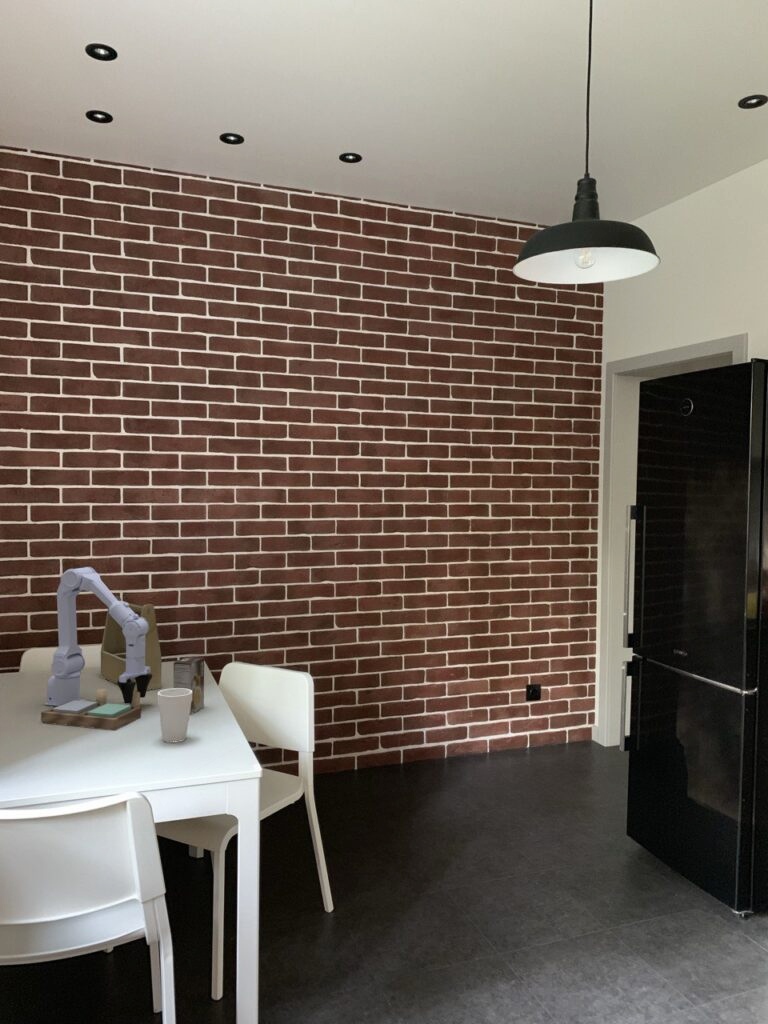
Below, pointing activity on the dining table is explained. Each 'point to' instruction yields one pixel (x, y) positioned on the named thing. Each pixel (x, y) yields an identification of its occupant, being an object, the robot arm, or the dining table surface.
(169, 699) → the foam cup
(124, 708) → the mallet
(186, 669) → the coffee box
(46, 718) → the tray
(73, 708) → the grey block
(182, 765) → the dining table surface
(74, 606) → the robot arm
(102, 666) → the caddy
